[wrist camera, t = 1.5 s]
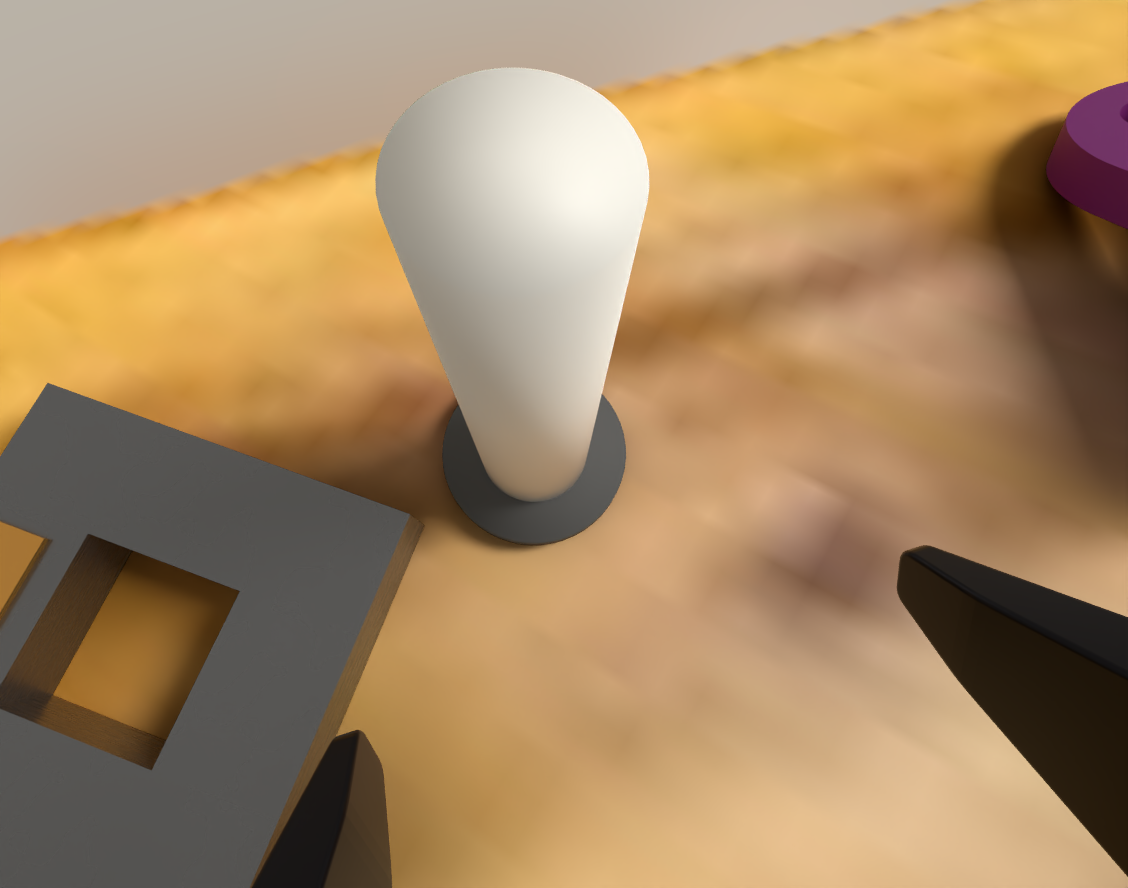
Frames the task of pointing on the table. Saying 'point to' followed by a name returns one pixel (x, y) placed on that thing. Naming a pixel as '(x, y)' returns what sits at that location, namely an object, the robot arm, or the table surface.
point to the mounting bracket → (1094, 155)
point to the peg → (518, 257)
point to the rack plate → (230, 673)
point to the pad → (545, 517)
